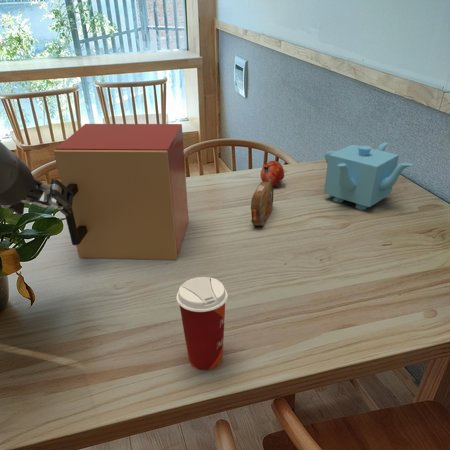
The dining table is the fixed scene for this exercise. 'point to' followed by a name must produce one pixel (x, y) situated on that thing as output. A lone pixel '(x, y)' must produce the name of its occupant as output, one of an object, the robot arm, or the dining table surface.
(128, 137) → the cabinet
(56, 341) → the dining table surface
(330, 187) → the teakettle
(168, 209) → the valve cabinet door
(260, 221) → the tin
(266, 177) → the pomegranate
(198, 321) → the paper cup
